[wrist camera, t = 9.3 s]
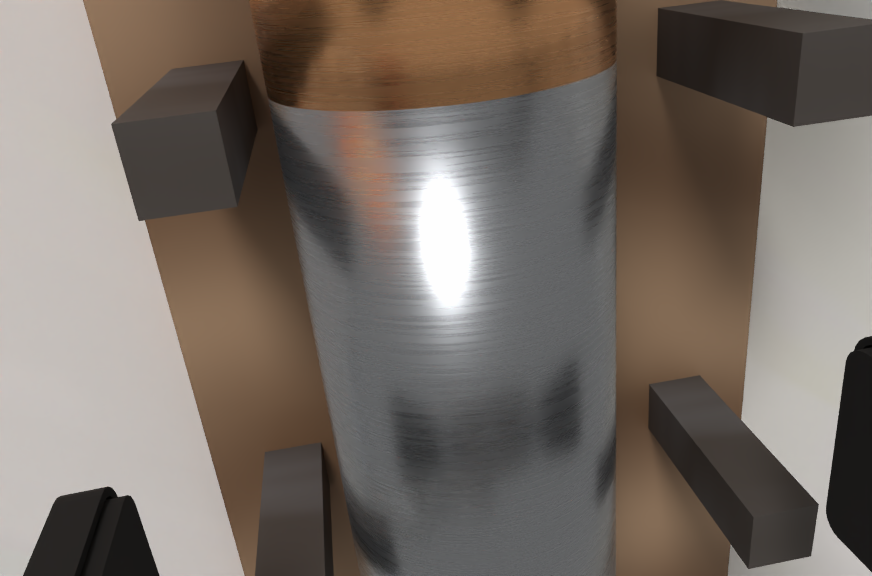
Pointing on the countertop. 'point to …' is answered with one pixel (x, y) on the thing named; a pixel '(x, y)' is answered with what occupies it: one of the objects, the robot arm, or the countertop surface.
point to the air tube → (458, 270)
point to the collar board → (635, 269)
